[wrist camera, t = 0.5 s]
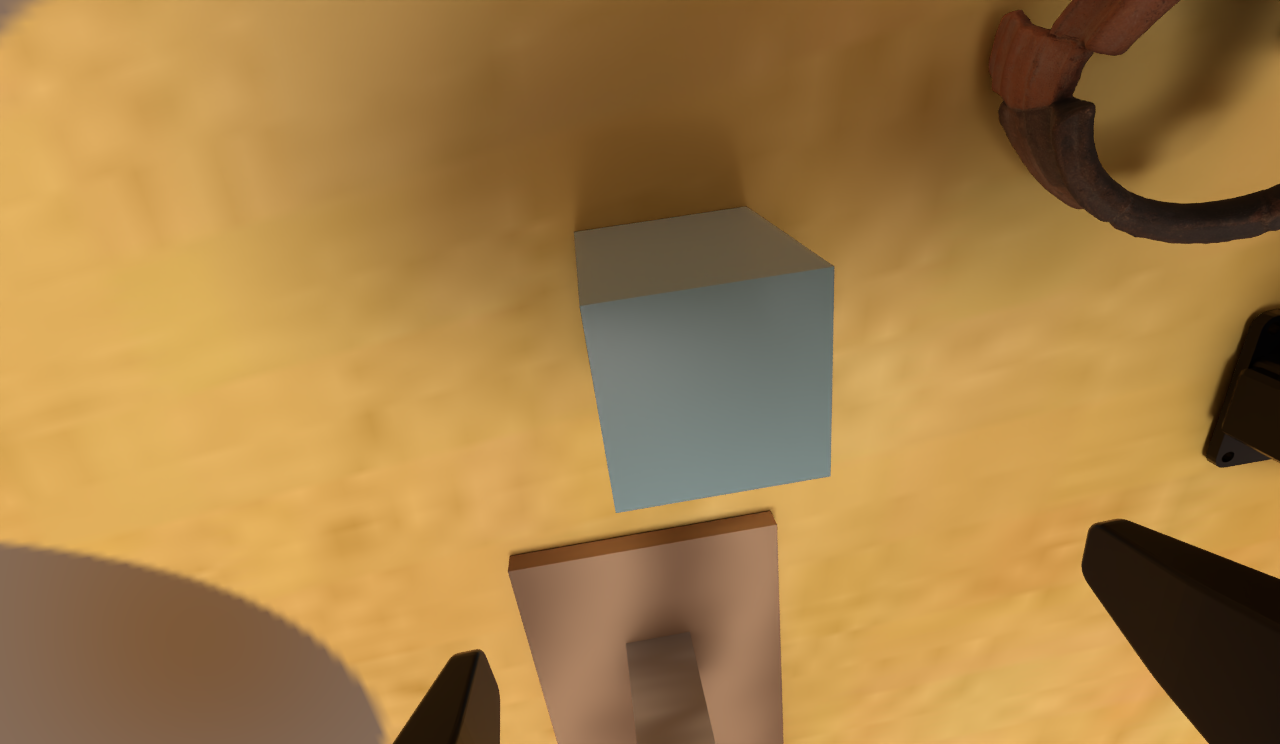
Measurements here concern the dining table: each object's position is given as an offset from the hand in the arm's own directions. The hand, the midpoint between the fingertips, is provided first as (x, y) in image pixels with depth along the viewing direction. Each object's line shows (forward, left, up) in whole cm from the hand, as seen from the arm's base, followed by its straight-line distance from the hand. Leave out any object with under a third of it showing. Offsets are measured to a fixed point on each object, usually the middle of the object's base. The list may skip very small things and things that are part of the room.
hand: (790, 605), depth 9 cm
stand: (+2, +16, -12) cm, 20 cm away
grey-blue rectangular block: (0, -1, -12) cm, 12 cm away
